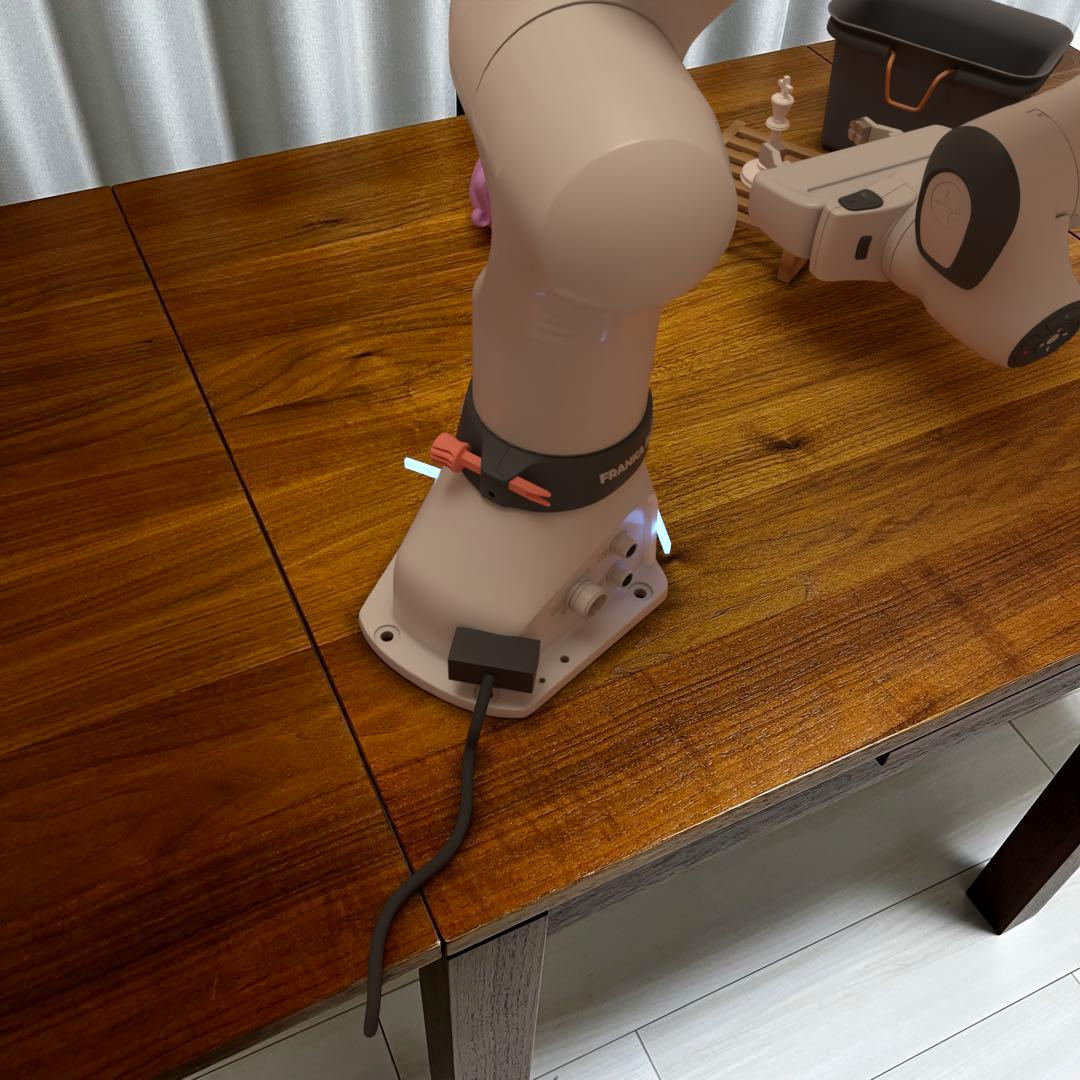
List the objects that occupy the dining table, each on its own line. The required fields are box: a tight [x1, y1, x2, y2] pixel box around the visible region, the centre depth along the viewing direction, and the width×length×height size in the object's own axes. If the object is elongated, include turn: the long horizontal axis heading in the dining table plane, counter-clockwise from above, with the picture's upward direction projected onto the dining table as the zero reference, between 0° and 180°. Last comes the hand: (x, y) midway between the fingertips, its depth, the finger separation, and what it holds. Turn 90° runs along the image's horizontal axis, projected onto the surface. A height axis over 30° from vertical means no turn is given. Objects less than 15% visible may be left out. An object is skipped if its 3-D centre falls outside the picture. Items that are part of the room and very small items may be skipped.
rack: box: [721, 119, 825, 284], centre depth 112 cm, size 16×14×4 cm
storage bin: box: [820, 0, 1075, 151], centre depth 116 cm, size 21×16×14 cm
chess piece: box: [740, 75, 795, 189], centre depth 107 cm, size 5×5×10 cm
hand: (811, 137), depth 103 cm, fingers open, 8 cm apart
